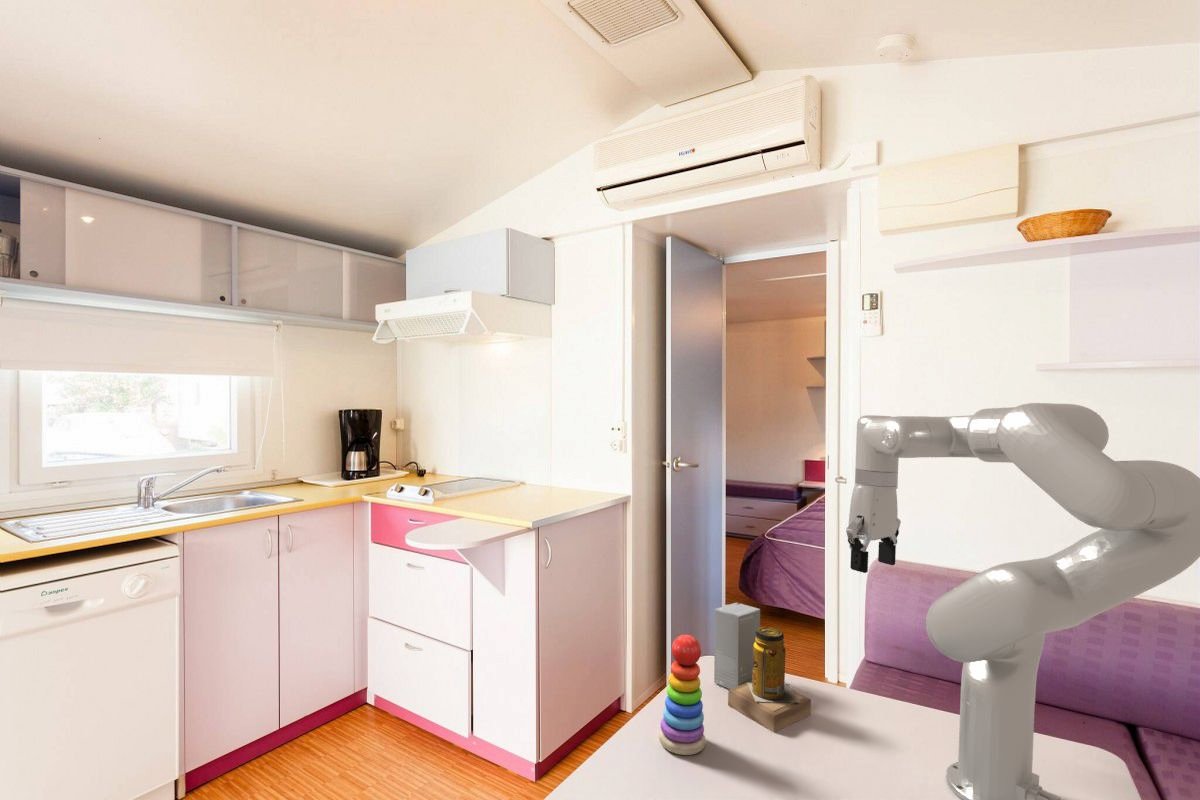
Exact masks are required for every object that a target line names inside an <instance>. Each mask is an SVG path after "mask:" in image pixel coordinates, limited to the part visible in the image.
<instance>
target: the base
mask: <svg viewBox="0 0 1200 800" xmlns="http://www.w3.org/2000/svg"><path fill="white" fill-rule="evenodd" d="M748 683H752V681H750V682H748ZM727 690H728V692H727V693H728V695H727V706H728V707H731V708H732V709H734V710H735V711H737V712H739V713H740V714H742V715H744V716H745V717H747V718H749V719H751V720H752V721H754V722H755V723H757V724H759V725H760V726H762V727H764V729H765V728H766V730H767V729H768V730H769V731H770V732H773V733H775V732H778V731H780V730H782V729H784V728H786V727H788V726H790V725H792V724H794V723H797V722H799V721H800V720H802V719H805V718H807V717H809V716H811V715H812V699H811V698H810V697H808V696H806V695H804V694H802V693H800V692H798V691H796V690H794V689H792V690H793V692H794V693H795V695H796V697H797V698H798V700H799V701H800V702H792V703H789V702H759V701H755V699H754V697H753V695H752V693H751V691H750V689H749V687H748V684H747V683H745V684H743V685H740V686H738V687H735V688H732V689H727Z"/></svg>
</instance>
